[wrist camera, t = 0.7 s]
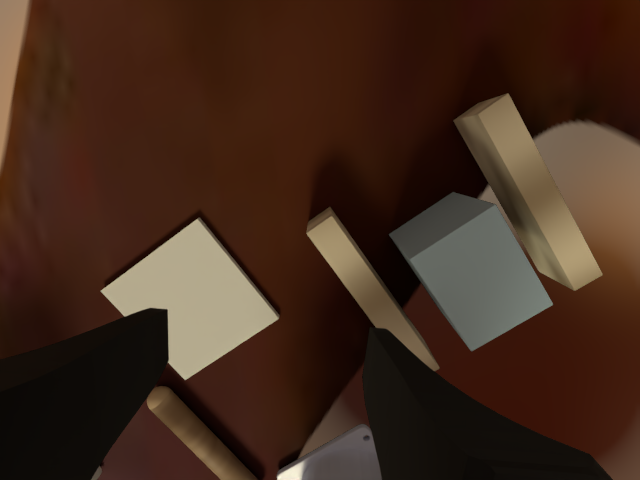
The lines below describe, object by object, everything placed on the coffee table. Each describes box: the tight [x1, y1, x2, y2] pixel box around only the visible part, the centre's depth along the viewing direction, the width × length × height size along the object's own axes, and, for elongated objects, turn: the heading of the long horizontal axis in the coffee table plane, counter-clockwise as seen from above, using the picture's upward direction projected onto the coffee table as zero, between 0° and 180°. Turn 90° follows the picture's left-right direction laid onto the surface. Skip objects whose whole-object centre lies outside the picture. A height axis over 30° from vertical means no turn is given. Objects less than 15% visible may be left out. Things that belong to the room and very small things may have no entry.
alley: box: [306, 93, 603, 371], centre depth 19 cm, size 11×12×3 cm
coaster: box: [101, 218, 280, 380], centre depth 21 cm, size 8×8×1 cm
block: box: [389, 192, 553, 351], centre depth 18 cm, size 6×4×5 cm
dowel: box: [147, 386, 258, 480], centre depth 23 cm, size 12×2×2 cm, turn 35°
